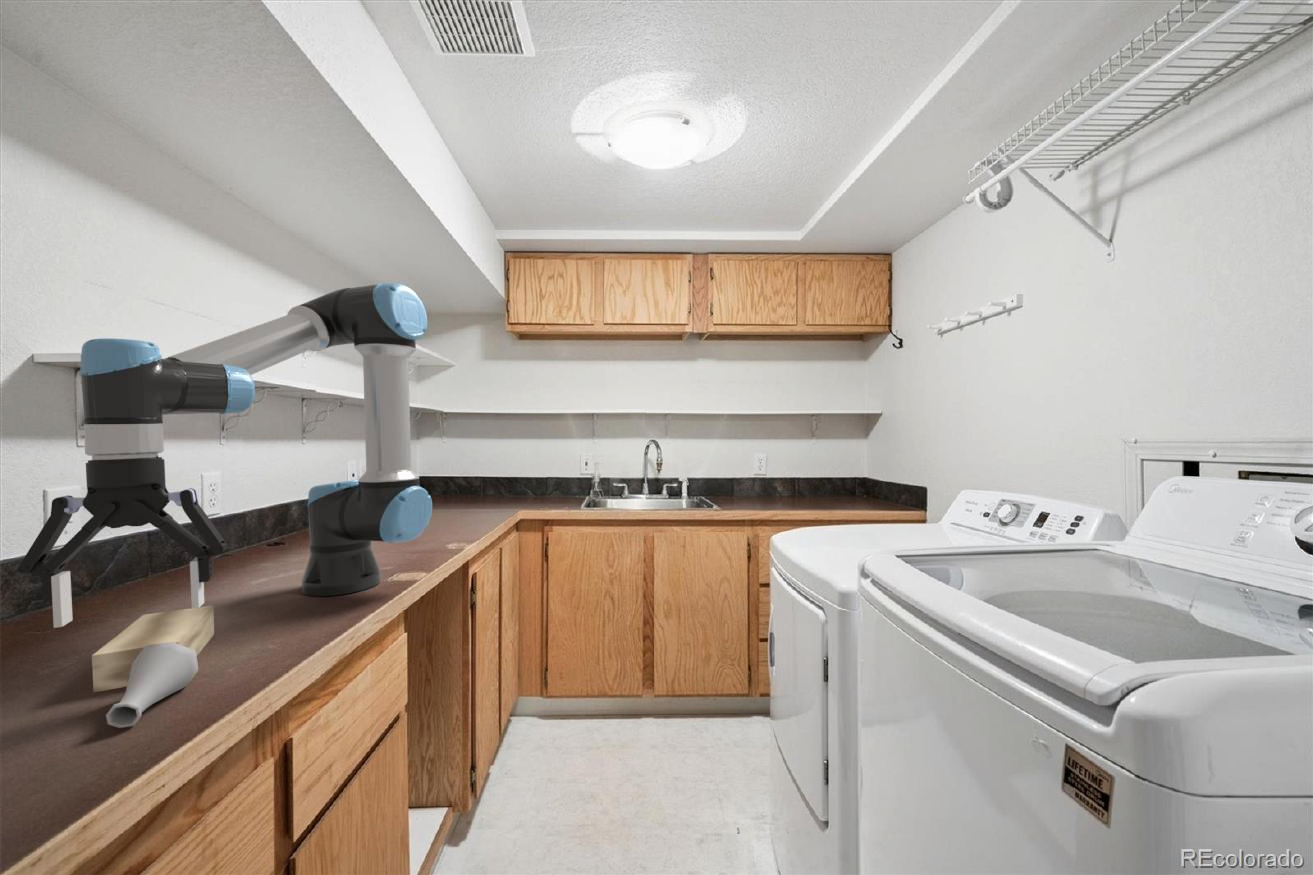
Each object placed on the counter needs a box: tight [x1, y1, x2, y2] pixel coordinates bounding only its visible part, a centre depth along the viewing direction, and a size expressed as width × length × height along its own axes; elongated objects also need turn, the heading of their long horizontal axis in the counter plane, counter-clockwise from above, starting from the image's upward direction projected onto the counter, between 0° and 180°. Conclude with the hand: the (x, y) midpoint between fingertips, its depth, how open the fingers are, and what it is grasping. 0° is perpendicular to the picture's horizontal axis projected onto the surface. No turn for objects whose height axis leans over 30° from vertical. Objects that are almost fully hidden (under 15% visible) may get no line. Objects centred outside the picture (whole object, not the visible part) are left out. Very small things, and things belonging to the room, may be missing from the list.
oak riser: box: [91, 604, 215, 693], centre depth 83 cm, size 9×18×5 cm, turn 27°
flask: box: [105, 642, 199, 729], centre depth 68 cm, size 7×7×10 cm
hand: (133, 614), depth 73 cm, fingers open, 13 cm apart
